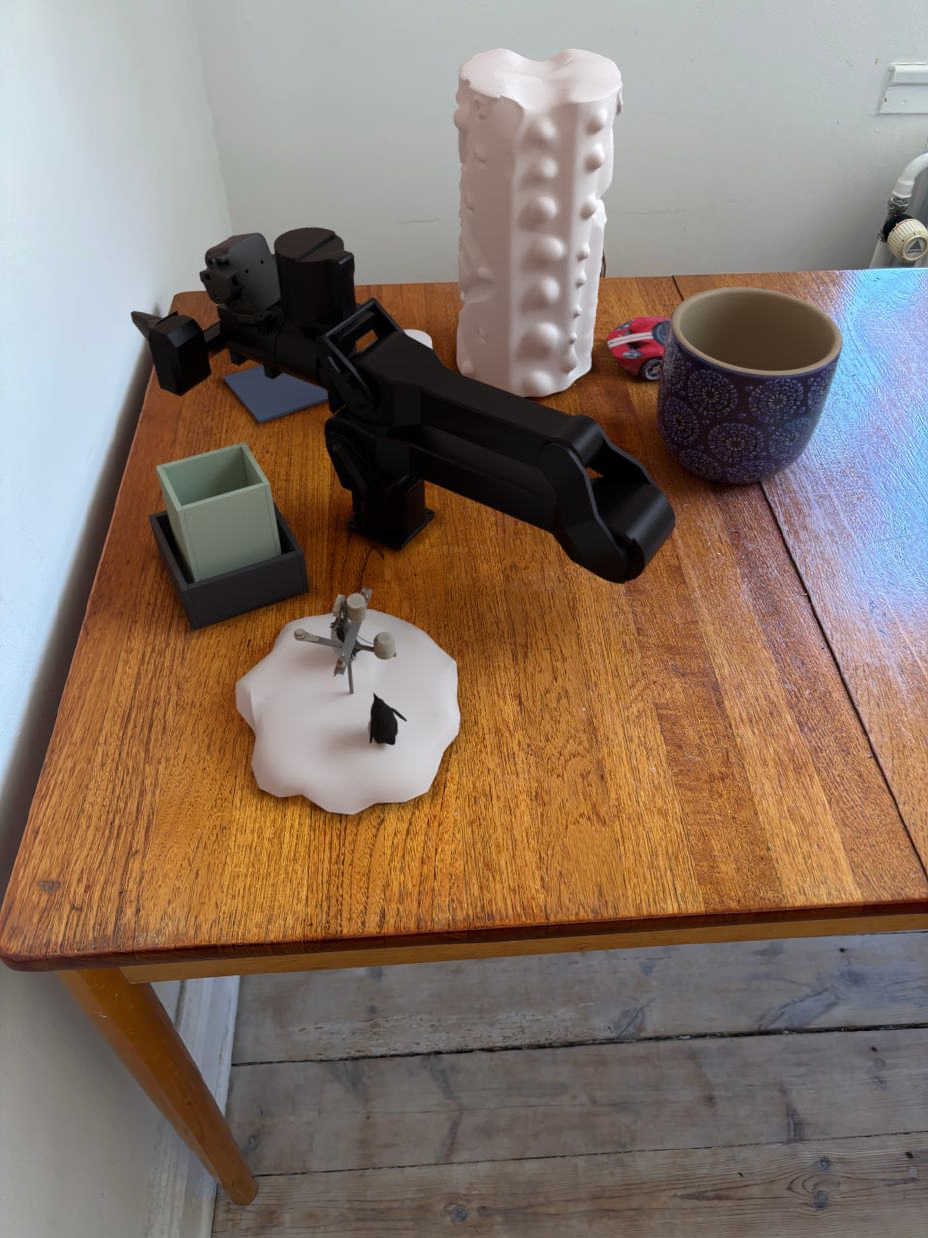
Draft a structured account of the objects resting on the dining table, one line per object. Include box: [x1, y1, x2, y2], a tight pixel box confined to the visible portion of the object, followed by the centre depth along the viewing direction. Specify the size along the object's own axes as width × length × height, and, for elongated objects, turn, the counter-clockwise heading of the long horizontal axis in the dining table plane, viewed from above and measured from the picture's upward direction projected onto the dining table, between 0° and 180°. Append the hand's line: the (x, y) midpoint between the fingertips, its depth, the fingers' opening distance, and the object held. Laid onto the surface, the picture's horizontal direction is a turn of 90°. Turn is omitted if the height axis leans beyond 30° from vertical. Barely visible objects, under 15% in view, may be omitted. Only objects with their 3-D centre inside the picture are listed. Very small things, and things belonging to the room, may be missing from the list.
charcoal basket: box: [147, 497, 311, 632], centre depth 92 cm, size 11×11×5 cm
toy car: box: [606, 316, 671, 381], centre depth 118 cm, size 10×22×5 cm, turn 93°
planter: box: [655, 286, 844, 485], centre depth 102 cm, size 16×17×15 cm
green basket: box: [155, 441, 281, 584], centre depth 90 cm, size 8×7×11 cm
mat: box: [222, 364, 328, 424], centre depth 115 cm, size 10×10×1 cm
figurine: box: [235, 586, 461, 816], centre depth 77 cm, size 20×18×16 cm
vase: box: [452, 47, 625, 398], centre depth 108 cm, size 17×16×32 cm
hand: (167, 295), depth 96 cm, fingers open, 9 cm apart
